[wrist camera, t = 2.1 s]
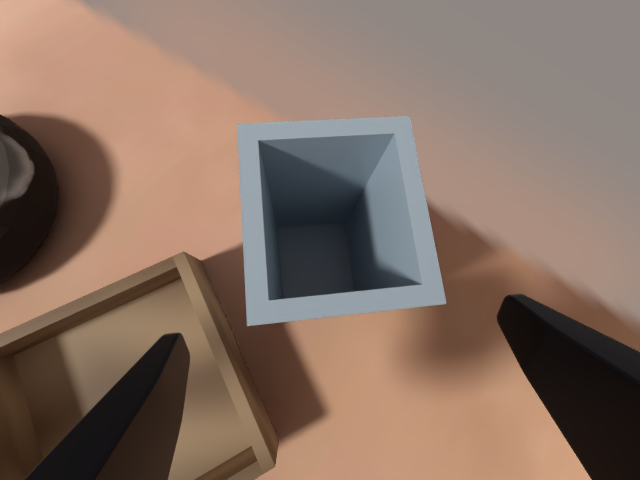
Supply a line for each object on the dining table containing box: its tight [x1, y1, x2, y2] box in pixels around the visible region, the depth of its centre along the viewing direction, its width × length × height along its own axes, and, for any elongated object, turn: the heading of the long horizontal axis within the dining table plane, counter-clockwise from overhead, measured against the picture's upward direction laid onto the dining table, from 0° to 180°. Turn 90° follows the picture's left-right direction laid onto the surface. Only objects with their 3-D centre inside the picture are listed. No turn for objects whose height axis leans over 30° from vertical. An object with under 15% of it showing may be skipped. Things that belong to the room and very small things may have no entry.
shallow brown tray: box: [0, 252, 279, 480], centre depth 15 cm, size 11×11×3 cm
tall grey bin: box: [237, 116, 447, 326], centre depth 14 cm, size 6×6×10 cm
